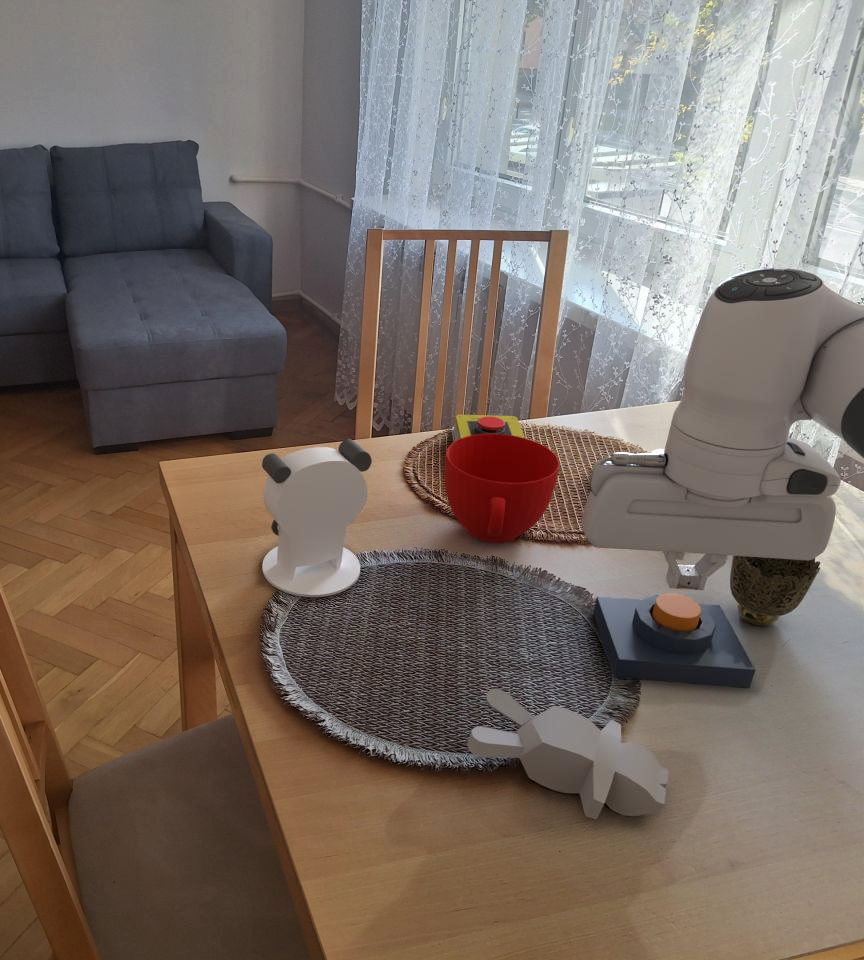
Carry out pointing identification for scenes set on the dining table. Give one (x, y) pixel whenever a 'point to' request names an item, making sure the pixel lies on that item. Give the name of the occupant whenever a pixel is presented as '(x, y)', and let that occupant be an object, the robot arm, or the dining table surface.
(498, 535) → the ceramic cup
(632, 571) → the dining table surface
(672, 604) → the light button
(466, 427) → the emergency button
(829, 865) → the dining table surface
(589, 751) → the bunny figurine
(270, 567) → the panda figurine
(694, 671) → the switch box
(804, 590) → the cup
